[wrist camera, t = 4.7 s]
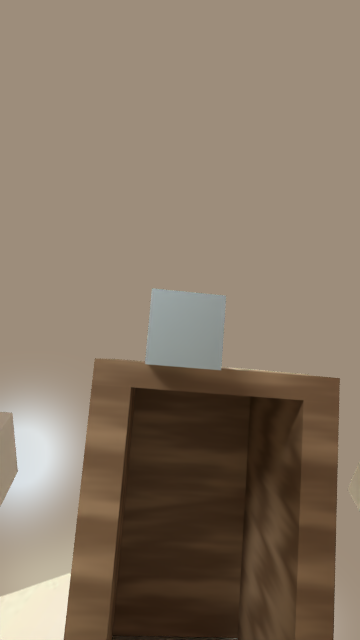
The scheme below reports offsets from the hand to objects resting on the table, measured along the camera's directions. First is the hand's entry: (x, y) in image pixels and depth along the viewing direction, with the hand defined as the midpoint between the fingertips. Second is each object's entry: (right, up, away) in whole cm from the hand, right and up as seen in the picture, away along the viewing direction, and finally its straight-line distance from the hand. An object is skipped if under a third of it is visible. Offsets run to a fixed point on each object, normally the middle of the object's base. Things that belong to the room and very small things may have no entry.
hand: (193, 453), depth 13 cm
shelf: (0, -30, +19) cm, 35 cm away
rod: (-1, +1, +17) cm, 18 cm away
